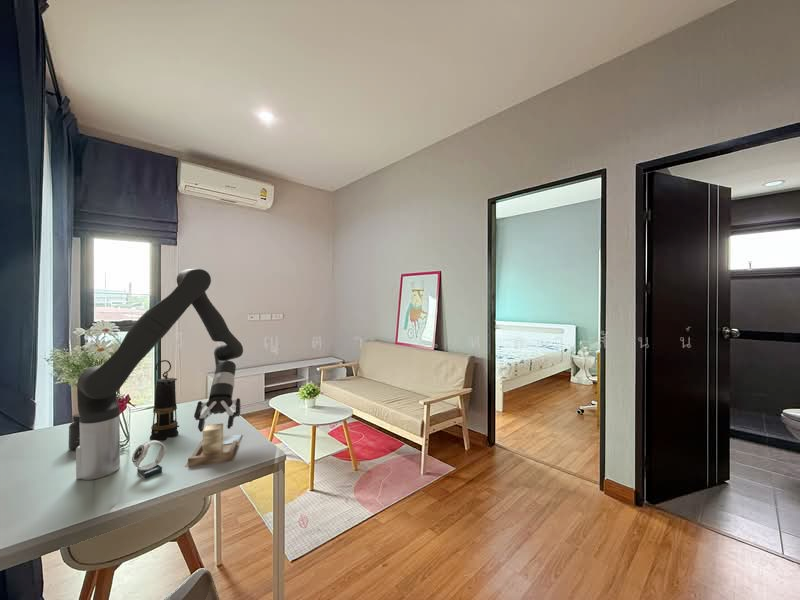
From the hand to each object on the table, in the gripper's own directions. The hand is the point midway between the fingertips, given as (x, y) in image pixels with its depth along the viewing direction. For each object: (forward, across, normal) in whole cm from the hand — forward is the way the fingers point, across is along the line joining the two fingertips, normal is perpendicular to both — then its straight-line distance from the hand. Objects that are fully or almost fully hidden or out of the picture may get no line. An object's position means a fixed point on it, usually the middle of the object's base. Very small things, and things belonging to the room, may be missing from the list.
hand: (215, 429), depth 111 cm
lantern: (-10, -23, +24) cm, 34 cm away
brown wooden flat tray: (+5, 0, +8) cm, 10 cm away
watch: (+13, -16, +1) cm, 21 cm away
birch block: (+8, 0, +4) cm, 9 cm away
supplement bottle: (-8, -48, +22) cm, 54 cm away
